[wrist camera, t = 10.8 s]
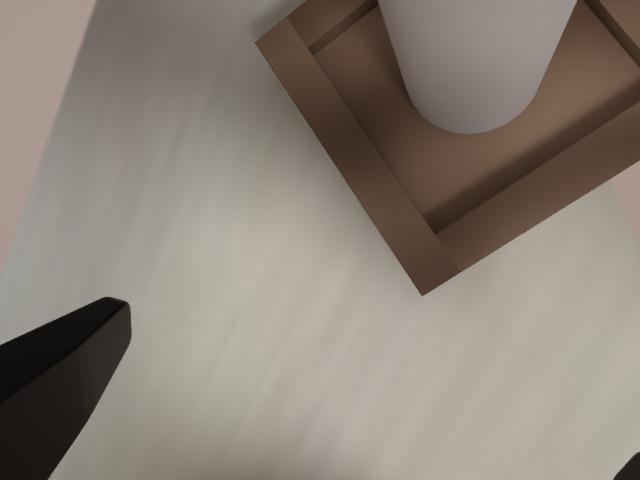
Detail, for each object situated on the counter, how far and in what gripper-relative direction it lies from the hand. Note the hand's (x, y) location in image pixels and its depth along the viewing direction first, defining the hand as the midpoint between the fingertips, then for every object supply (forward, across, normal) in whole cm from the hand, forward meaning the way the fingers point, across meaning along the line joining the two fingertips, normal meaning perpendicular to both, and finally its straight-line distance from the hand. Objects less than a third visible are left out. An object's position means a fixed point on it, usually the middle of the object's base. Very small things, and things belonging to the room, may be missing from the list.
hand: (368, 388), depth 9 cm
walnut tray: (+15, -2, -2) cm, 15 cm away
